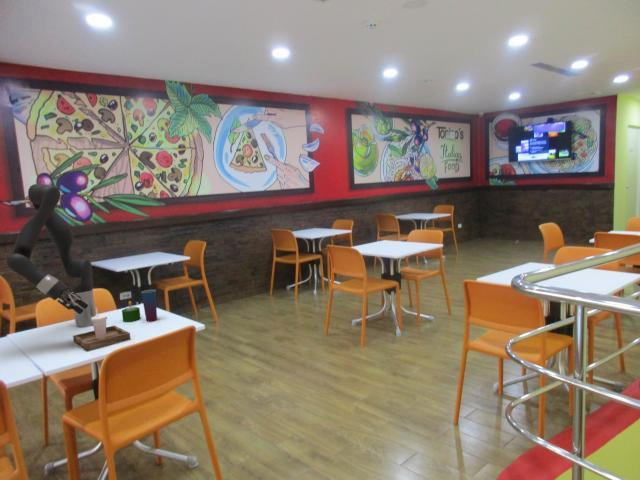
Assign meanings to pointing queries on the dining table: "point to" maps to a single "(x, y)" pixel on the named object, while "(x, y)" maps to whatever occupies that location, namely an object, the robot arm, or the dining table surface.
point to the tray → (91, 343)
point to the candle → (131, 313)
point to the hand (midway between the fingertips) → (84, 309)
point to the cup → (150, 305)
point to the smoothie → (99, 325)
